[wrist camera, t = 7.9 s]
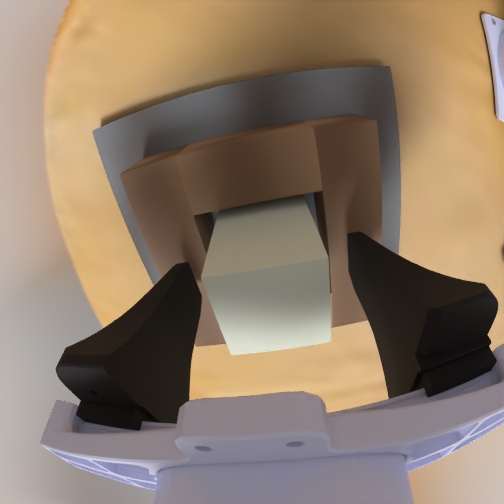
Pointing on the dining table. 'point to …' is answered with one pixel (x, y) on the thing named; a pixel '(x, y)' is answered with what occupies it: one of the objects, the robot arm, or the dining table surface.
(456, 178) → the dining table surface
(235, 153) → the socket
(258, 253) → the peg
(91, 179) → the dining table surface
